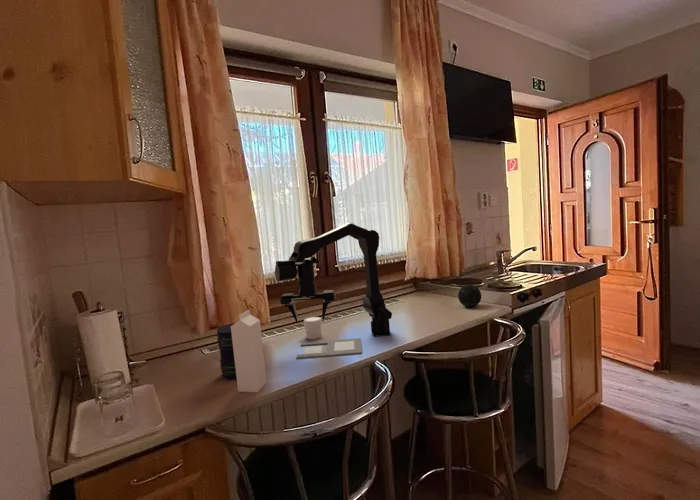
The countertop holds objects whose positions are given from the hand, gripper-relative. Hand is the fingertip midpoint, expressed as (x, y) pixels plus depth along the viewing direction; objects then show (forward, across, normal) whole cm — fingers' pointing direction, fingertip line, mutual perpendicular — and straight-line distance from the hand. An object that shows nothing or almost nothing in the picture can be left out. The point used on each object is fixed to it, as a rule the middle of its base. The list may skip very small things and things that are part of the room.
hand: (310, 321), depth 145 cm
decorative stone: (+10, -67, -41) cm, 79 cm away
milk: (+10, +14, +28) cm, 34 cm away
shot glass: (+10, +1, -15) cm, 18 cm away
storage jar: (+10, +22, +18) cm, 30 cm away
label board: (+10, -6, +1) cm, 12 cm away
